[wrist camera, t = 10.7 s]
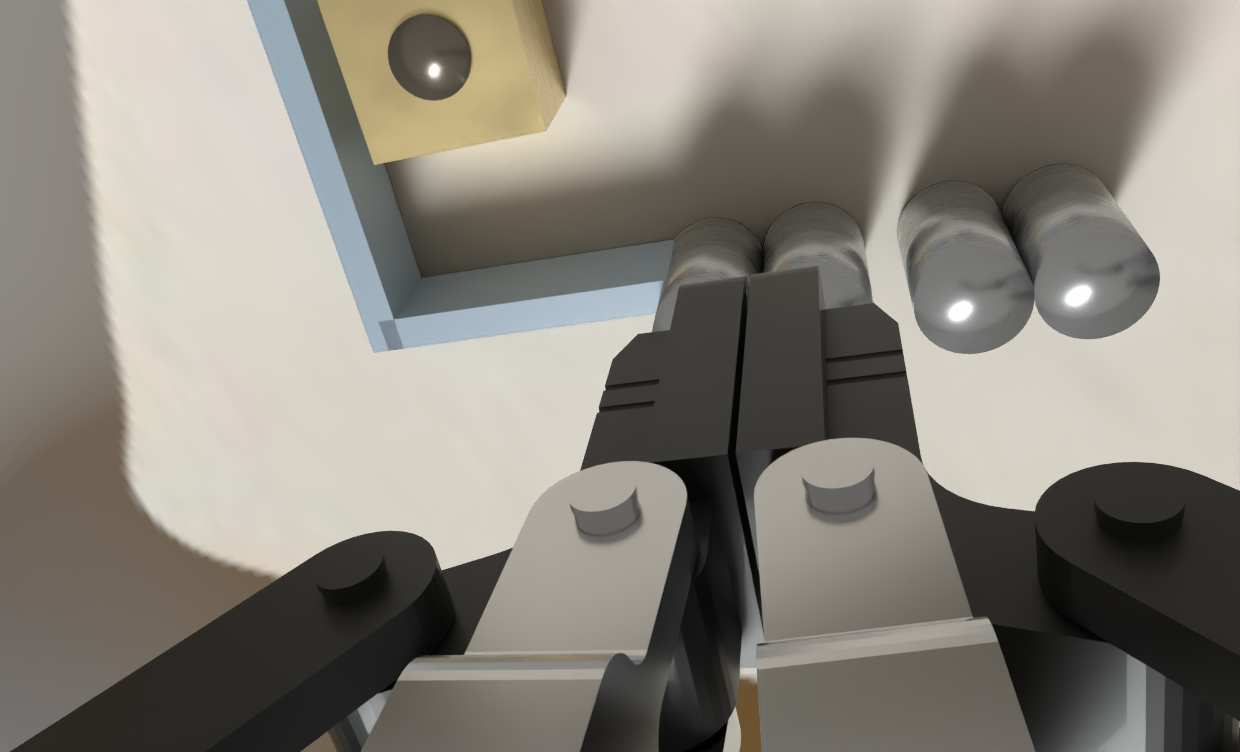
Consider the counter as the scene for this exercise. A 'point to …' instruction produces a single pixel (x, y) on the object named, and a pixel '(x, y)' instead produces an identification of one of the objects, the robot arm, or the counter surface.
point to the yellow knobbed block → (444, 71)
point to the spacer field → (956, 259)
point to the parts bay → (377, 237)
